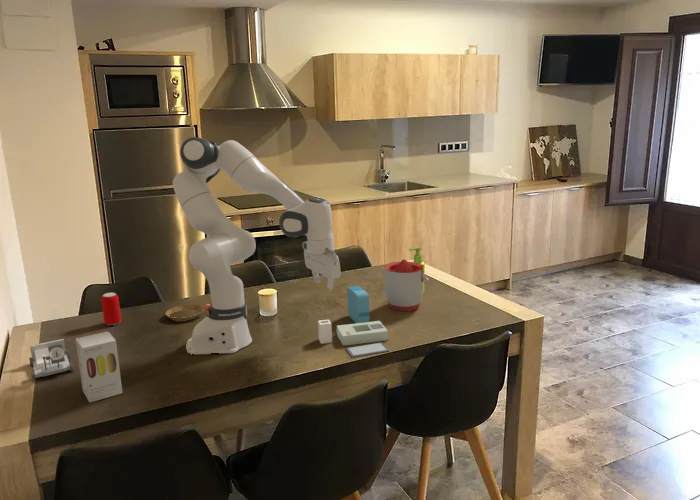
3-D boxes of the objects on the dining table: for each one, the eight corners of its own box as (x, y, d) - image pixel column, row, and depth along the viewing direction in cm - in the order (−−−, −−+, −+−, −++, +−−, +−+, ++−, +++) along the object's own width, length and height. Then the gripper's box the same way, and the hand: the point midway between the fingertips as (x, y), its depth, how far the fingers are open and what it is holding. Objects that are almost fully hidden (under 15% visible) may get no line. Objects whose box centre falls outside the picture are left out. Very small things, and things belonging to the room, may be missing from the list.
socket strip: (343, 345, 195) (342, 335, 194) (336, 334, 204) (336, 325, 203) (387, 340, 198) (387, 330, 197) (379, 329, 208) (379, 320, 207)
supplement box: (89, 403, 161) (80, 348, 157) (81, 391, 168) (73, 338, 164) (124, 393, 166) (116, 339, 162) (115, 381, 174) (108, 329, 170)
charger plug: (320, 343, 197) (319, 324, 195) (318, 339, 201) (317, 320, 199) (332, 342, 198) (331, 323, 196) (329, 337, 202) (329, 319, 200)
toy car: (70, 347, 176) (28, 356, 170) (75, 376, 179) (33, 386, 173) (64, 329, 191) (25, 337, 185) (69, 356, 194) (30, 364, 188)
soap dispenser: (406, 291, 249) (406, 247, 244) (420, 289, 251) (421, 245, 246) (411, 295, 244) (411, 250, 239) (426, 293, 246) (426, 248, 241)
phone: (352, 359, 186) (352, 356, 185) (345, 350, 192) (345, 347, 192) (389, 353, 190) (389, 350, 189) (381, 345, 196) (381, 342, 196)
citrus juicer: (427, 314, 221) (427, 265, 217) (383, 313, 224) (382, 264, 219) (428, 301, 236) (429, 254, 231) (386, 299, 239) (386, 253, 234)
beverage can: (107, 328, 217) (103, 298, 214) (102, 323, 221) (98, 294, 218) (124, 323, 220) (120, 294, 217) (118, 319, 225) (114, 290, 222)
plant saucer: (209, 310, 233) (209, 304, 232) (196, 324, 219) (196, 317, 218) (174, 310, 235) (174, 304, 234) (159, 323, 220) (159, 317, 220)
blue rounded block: (369, 324, 213) (369, 293, 210) (358, 326, 212) (357, 295, 209) (358, 313, 224) (358, 284, 221) (347, 315, 223) (347, 286, 220)
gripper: (344, 250, 184) (346, 290, 188) (316, 239, 202) (318, 277, 205) (326, 253, 181) (329, 294, 185) (300, 242, 199) (302, 280, 202)
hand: (323, 285), depth 195 cm, fingers open, 8 cm apart
